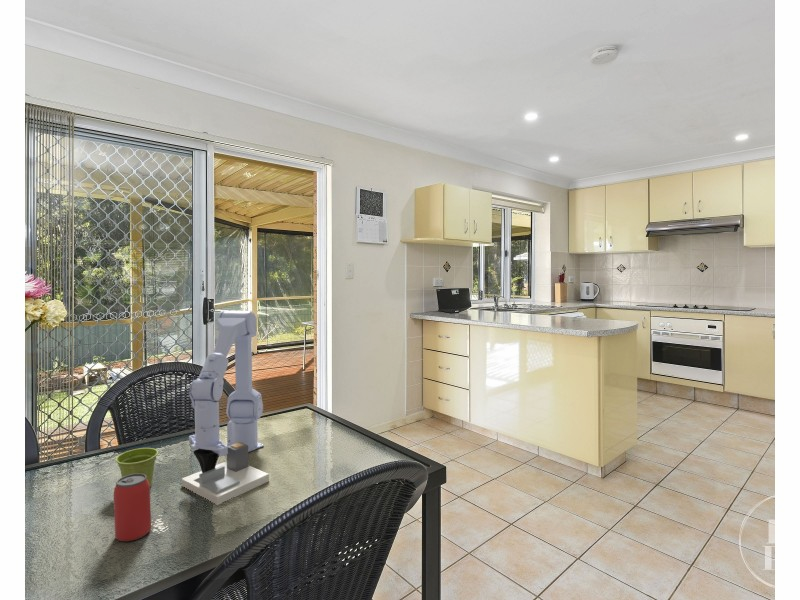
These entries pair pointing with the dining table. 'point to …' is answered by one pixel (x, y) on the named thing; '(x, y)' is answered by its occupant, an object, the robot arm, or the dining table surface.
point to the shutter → (217, 480)
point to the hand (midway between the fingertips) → (208, 476)
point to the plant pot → (138, 462)
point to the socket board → (247, 479)
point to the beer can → (132, 507)
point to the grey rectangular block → (237, 457)
